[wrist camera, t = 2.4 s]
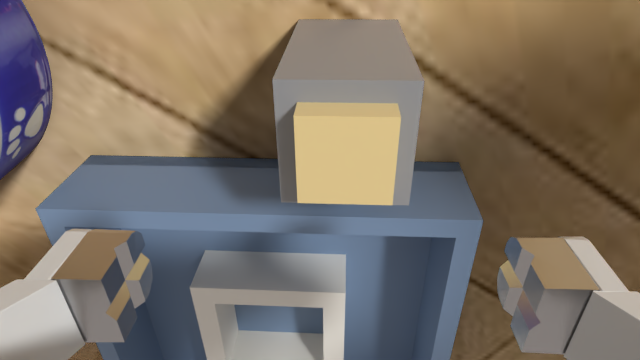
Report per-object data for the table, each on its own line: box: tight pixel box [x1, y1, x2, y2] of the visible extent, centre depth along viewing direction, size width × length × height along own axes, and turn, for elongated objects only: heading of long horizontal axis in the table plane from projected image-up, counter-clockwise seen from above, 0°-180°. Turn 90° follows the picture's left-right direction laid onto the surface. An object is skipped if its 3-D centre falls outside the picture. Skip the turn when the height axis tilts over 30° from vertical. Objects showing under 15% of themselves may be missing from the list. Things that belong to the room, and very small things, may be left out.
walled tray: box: [36, 155, 483, 360], centre depth 26 cm, size 20×20×5 cm
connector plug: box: [272, 19, 424, 205], centre depth 17 cm, size 4×4×9 cm
